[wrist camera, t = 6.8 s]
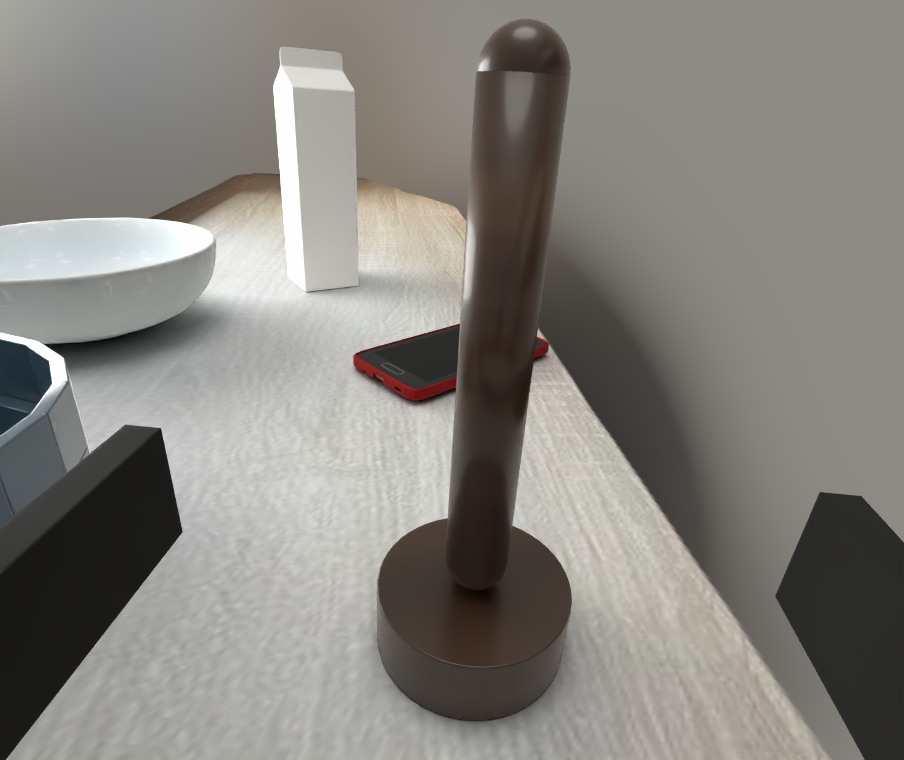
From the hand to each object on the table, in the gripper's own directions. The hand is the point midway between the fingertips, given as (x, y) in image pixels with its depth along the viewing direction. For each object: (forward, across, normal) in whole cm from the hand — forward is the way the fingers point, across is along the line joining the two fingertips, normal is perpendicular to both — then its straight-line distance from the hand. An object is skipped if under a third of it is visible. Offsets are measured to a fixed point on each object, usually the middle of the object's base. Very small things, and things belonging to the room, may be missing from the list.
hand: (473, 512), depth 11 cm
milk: (+49, -19, -11) cm, 53 cm away
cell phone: (+31, -2, -10) cm, 33 cm away
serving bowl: (+32, -33, -11) cm, 47 cm away
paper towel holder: (+6, 0, -10) cm, 12 cm away
